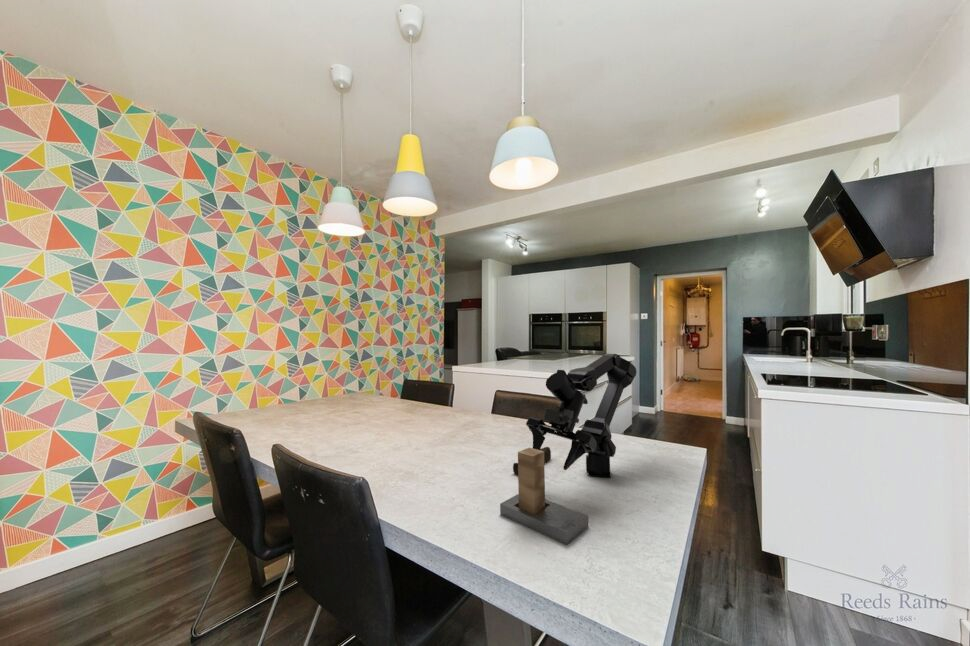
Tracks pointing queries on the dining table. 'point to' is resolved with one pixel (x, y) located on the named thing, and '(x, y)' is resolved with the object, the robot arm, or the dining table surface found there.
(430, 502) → the dining table surface
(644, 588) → the dining table surface
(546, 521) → the grey slotted base plate
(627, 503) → the dining table surface
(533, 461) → the walnut post
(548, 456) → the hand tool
